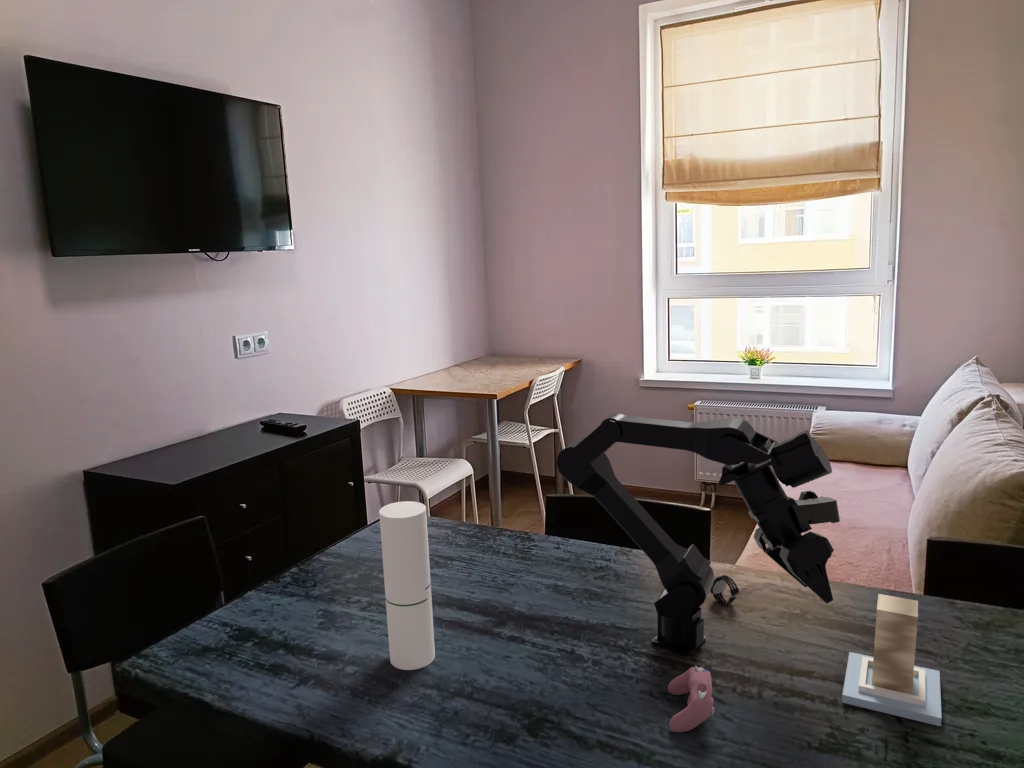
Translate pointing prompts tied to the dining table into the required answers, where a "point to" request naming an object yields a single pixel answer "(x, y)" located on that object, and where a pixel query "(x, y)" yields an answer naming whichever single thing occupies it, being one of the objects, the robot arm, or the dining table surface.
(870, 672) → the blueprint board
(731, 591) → the smartwatch
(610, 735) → the dining table surface
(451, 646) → the dining table surface
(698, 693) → the video game controller
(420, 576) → the cylindrical container
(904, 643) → the maple pillar
